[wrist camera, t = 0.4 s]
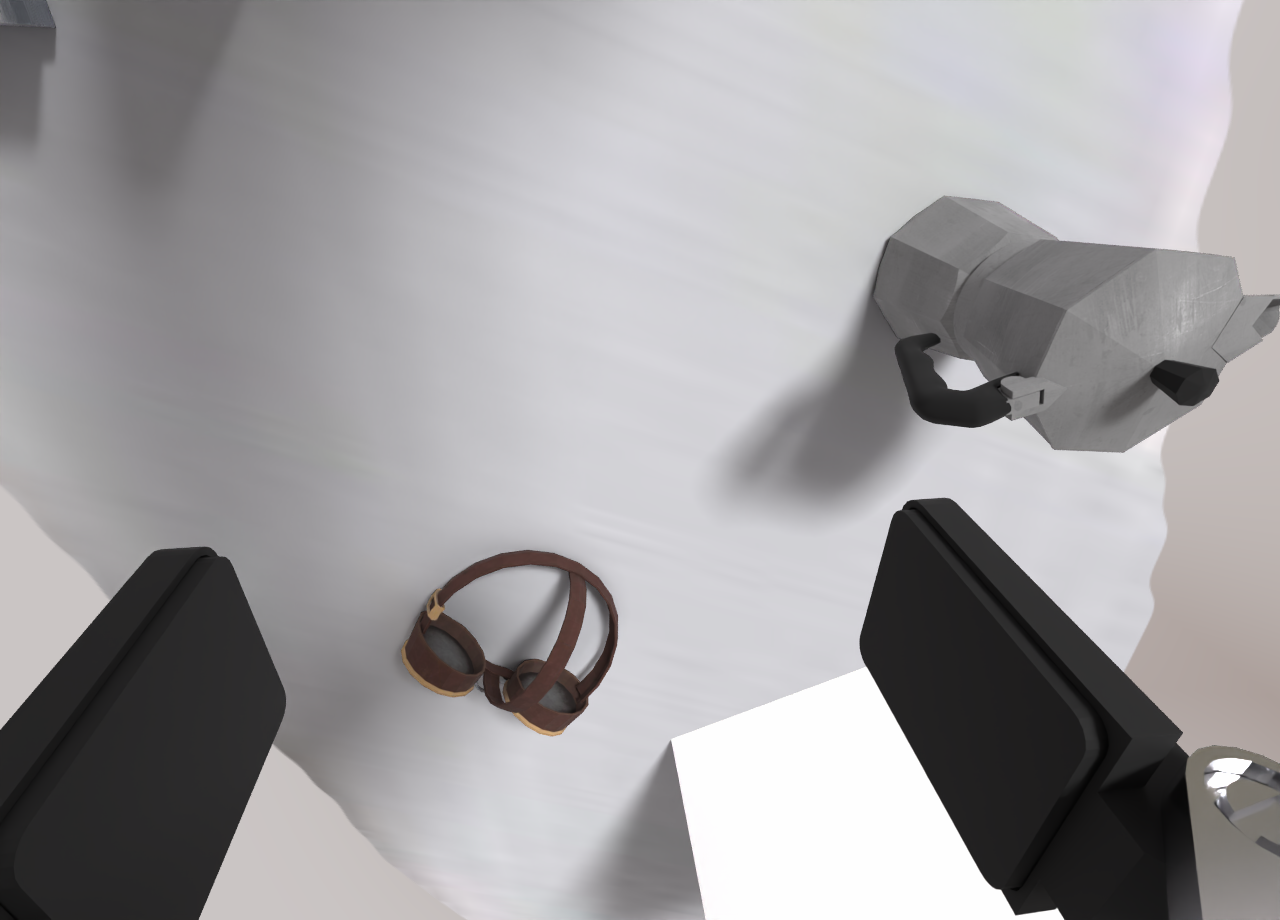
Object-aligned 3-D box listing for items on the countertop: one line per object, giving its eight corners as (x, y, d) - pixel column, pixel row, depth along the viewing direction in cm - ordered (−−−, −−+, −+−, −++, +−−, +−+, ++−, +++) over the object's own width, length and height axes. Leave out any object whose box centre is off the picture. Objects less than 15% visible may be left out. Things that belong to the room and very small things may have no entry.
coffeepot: (1051, 158, 36) (1426, 207, 21) (1041, 309, 41) (1338, 440, 26) (796, 240, 37) (976, 348, 21) (816, 381, 42) (974, 550, 26)
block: (1030, 605, 56) (1391, 989, 32) (1034, 660, 60) (1357, 1035, 36) (671, 739, 59) (755, 1179, 35) (698, 782, 63) (790, 1202, 39)
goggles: (392, 630, 48) (378, 723, 39) (489, 495, 46) (497, 560, 37) (555, 699, 54) (576, 793, 45) (645, 583, 52) (684, 656, 43)
